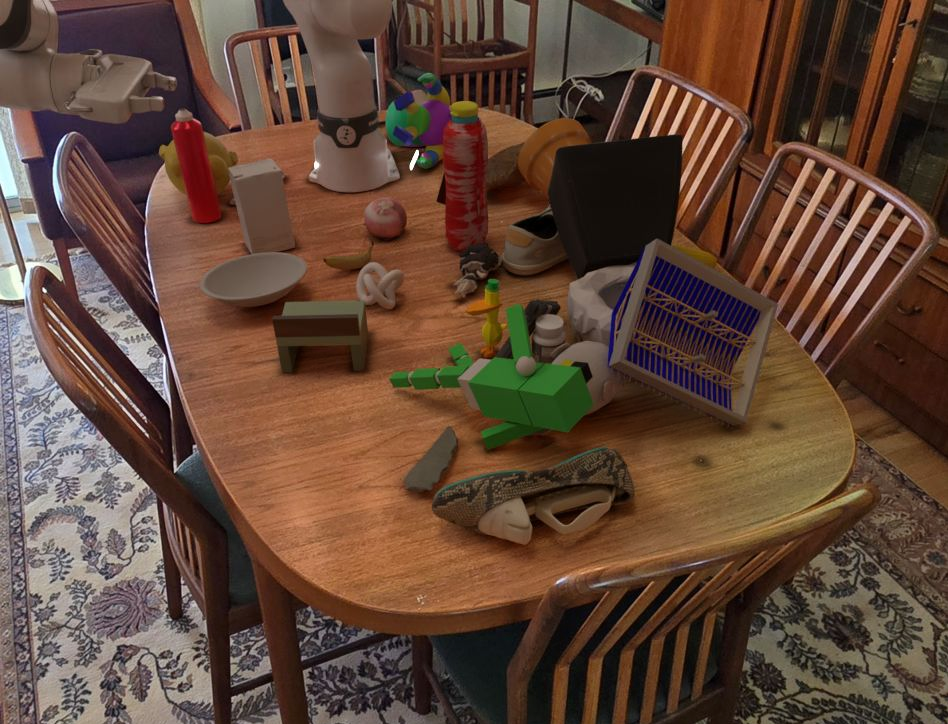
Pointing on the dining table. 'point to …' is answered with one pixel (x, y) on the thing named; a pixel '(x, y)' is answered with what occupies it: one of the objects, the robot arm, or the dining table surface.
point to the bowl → (596, 302)
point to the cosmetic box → (262, 206)
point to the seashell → (504, 169)
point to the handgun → (530, 322)
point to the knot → (379, 285)
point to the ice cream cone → (419, 96)
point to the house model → (689, 332)
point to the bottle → (195, 167)
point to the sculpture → (217, 157)
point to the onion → (385, 218)
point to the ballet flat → (538, 496)
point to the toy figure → (489, 317)
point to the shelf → (321, 329)
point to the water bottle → (465, 177)
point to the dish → (254, 278)
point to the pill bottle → (547, 337)
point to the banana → (349, 260)
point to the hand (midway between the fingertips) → (169, 94)
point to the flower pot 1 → (548, 150)
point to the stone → (433, 463)
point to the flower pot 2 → (615, 198)
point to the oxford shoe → (533, 245)
